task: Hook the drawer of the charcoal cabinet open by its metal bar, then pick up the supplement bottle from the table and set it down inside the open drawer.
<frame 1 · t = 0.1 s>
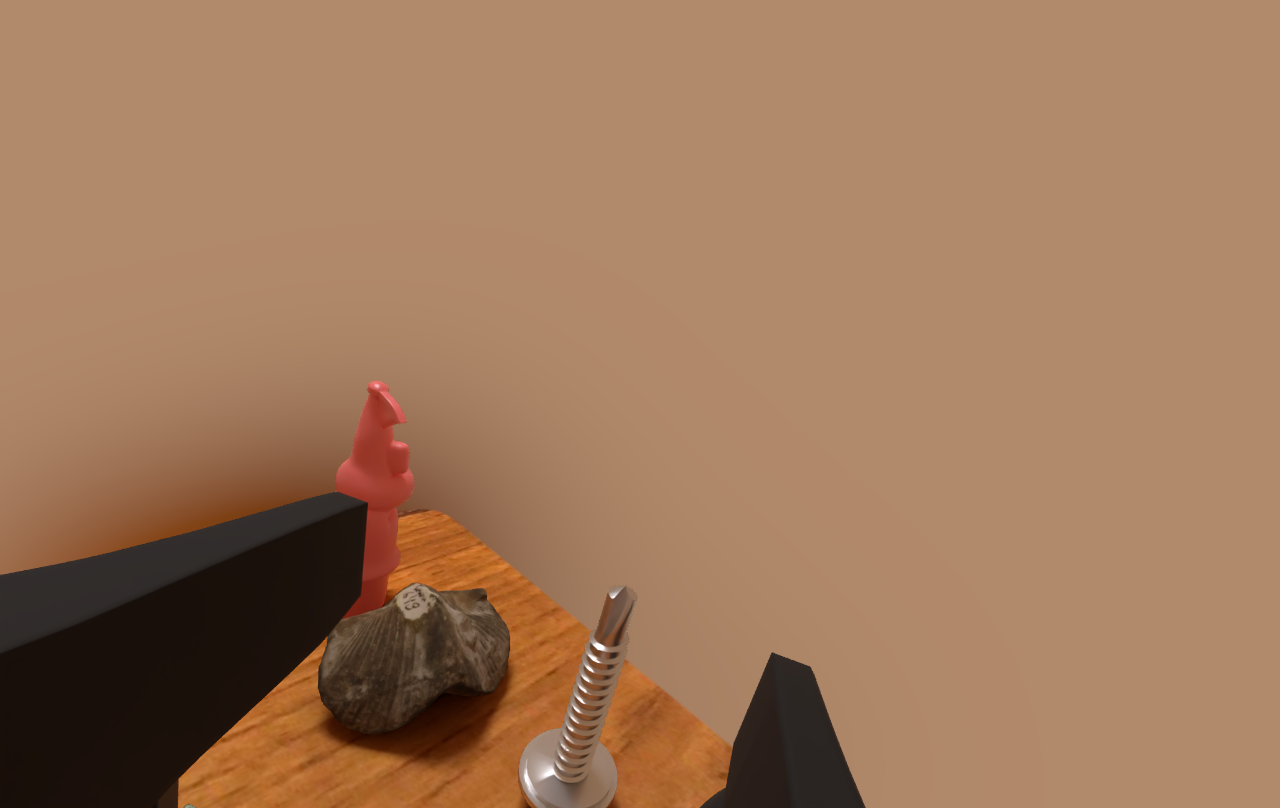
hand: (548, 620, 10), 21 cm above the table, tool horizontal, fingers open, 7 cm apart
figurine: (354, 601, 39), on the table
screw: (558, 804, 30), on the table
fossilized seashell: (414, 686, 34), on the table
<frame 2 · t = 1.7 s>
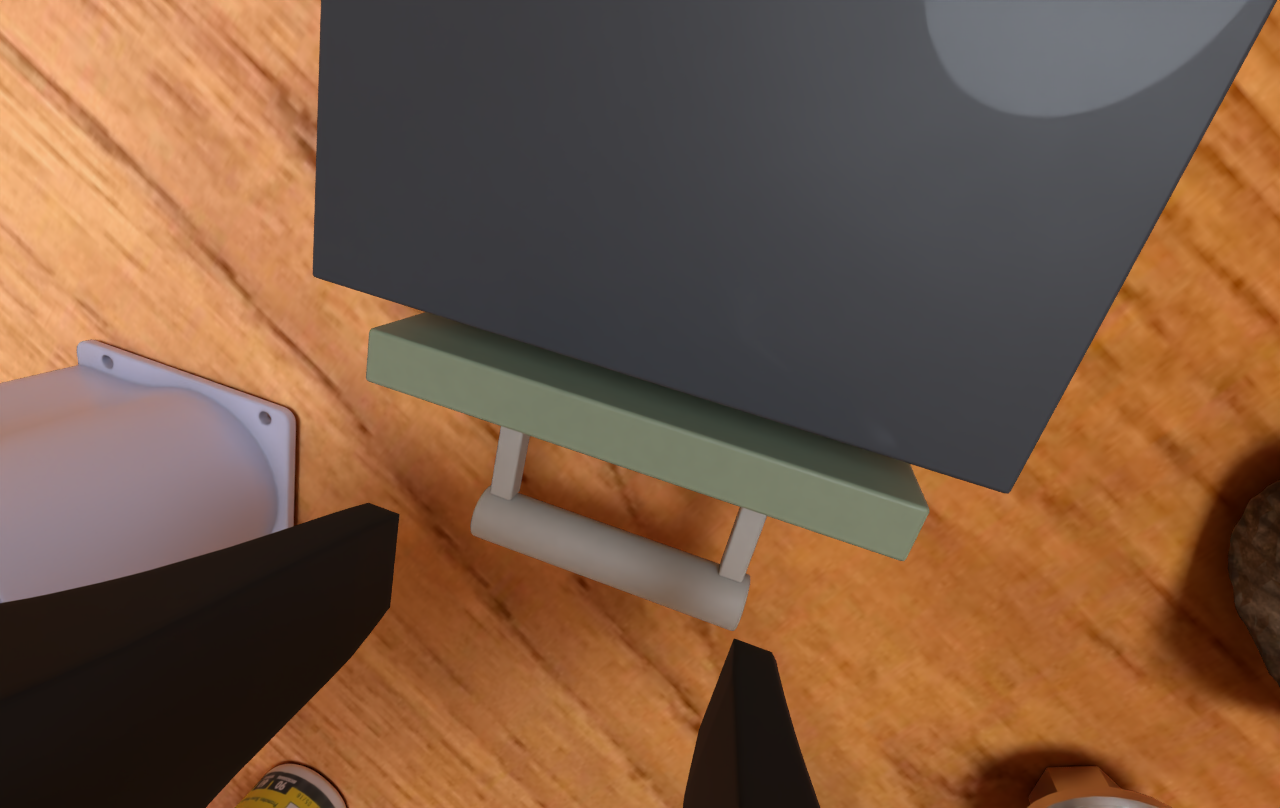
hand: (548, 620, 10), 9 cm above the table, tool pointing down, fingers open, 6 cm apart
drawer: (700, 226, 13), point 4 cm above the table, slide at 1.0 cm
cabinet: (777, 16, 14), on the table
screw: (1073, 788, 19), on the table
supplement bottle: (311, 793, 30), on the table
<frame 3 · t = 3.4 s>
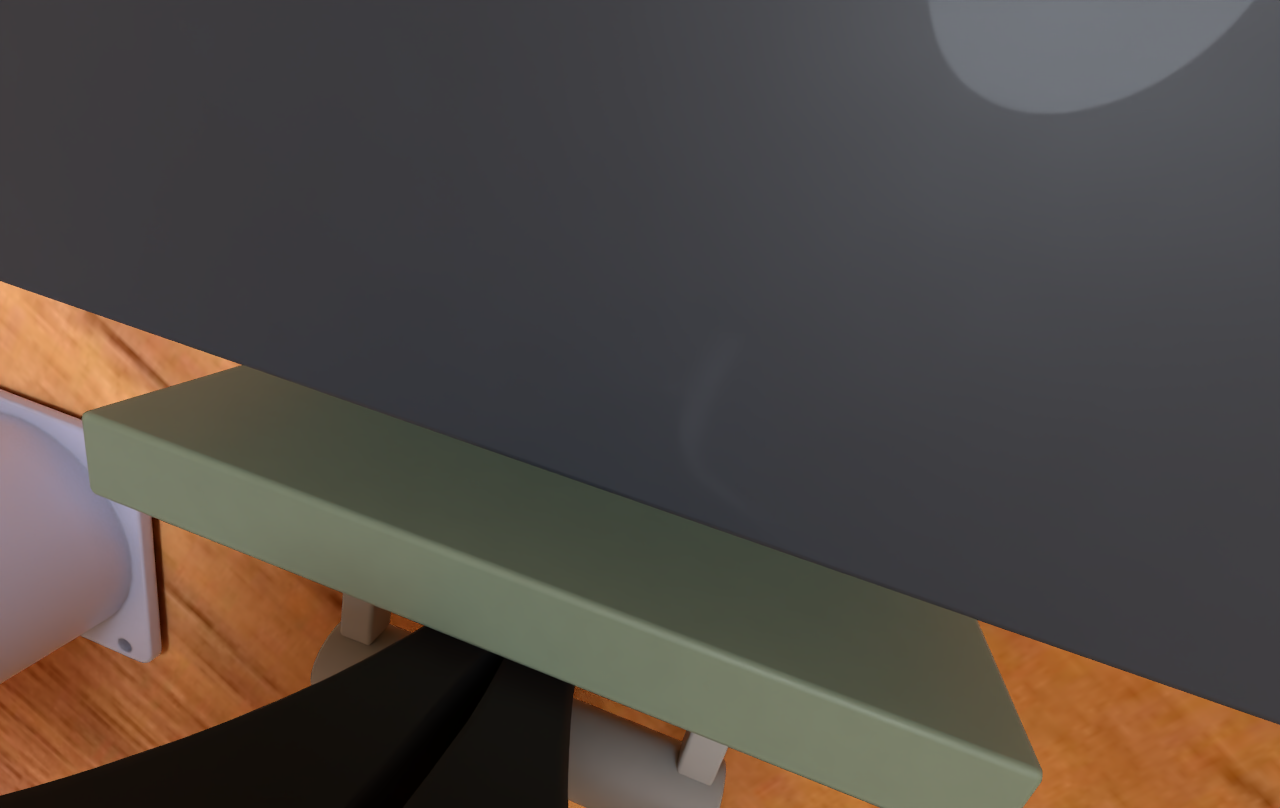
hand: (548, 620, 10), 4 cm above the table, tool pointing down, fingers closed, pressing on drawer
drawer: (640, 240, 8), point 4 cm above the table, slide at 1.9 cm, touching gripper
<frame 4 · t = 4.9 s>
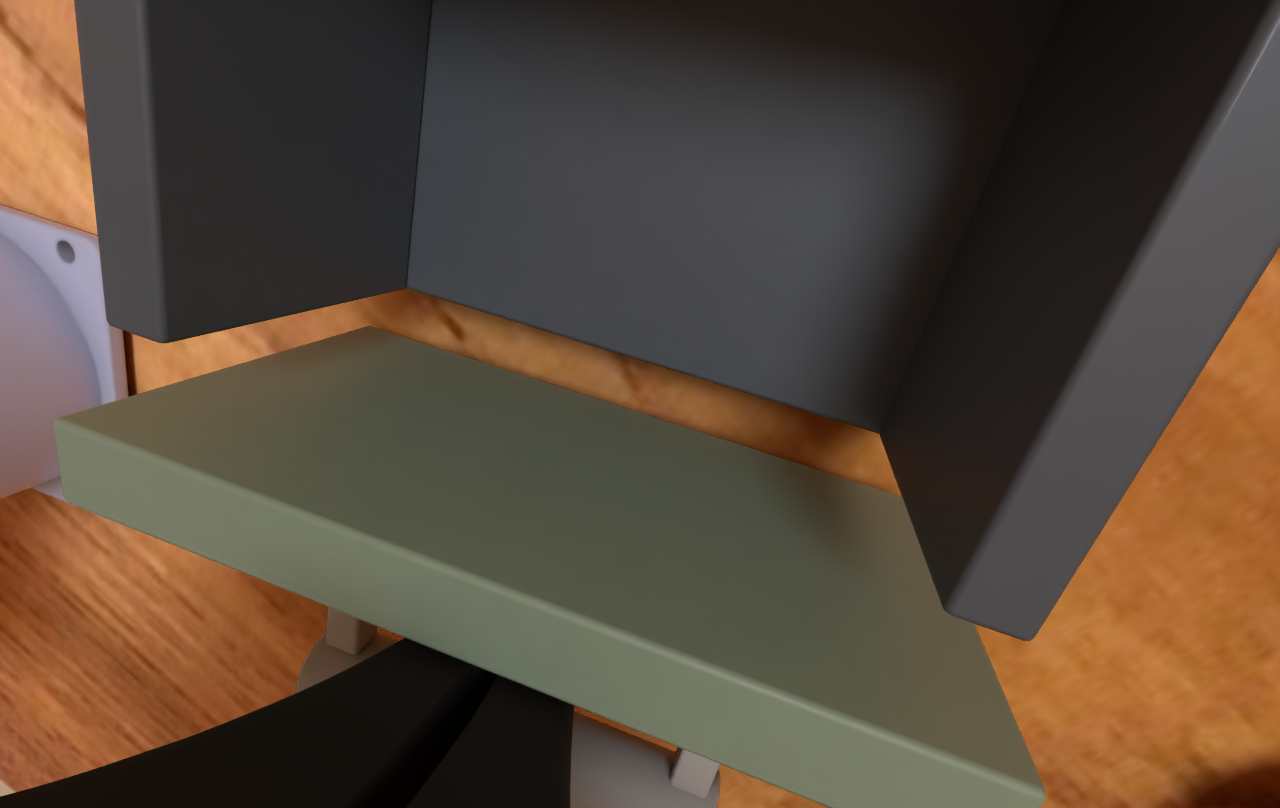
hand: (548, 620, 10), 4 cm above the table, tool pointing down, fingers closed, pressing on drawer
drawer: (629, 240, 8), point 4 cm above the table, slide at 7.5 cm, touching gripper
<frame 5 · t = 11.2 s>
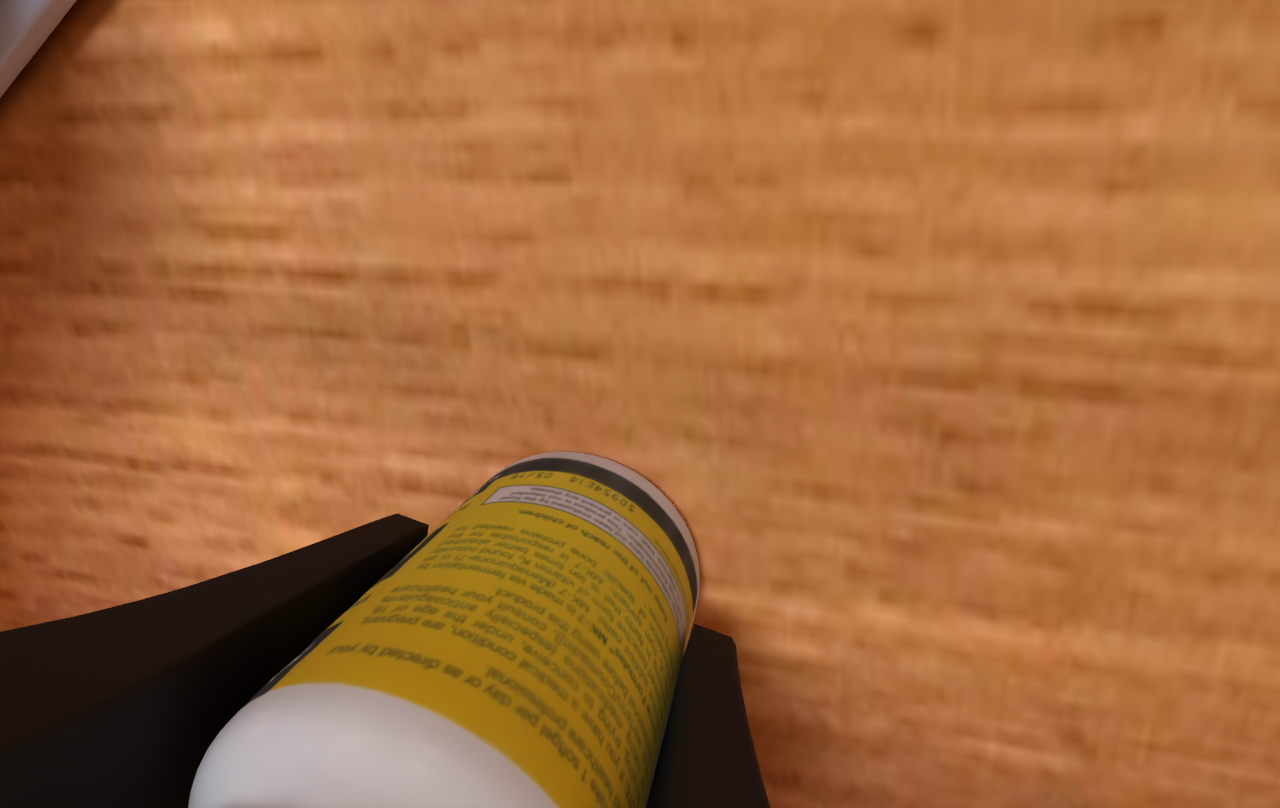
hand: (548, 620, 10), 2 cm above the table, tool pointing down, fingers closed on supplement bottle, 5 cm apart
supplement bottle: (586, 551, 12), on the table, touching gripper
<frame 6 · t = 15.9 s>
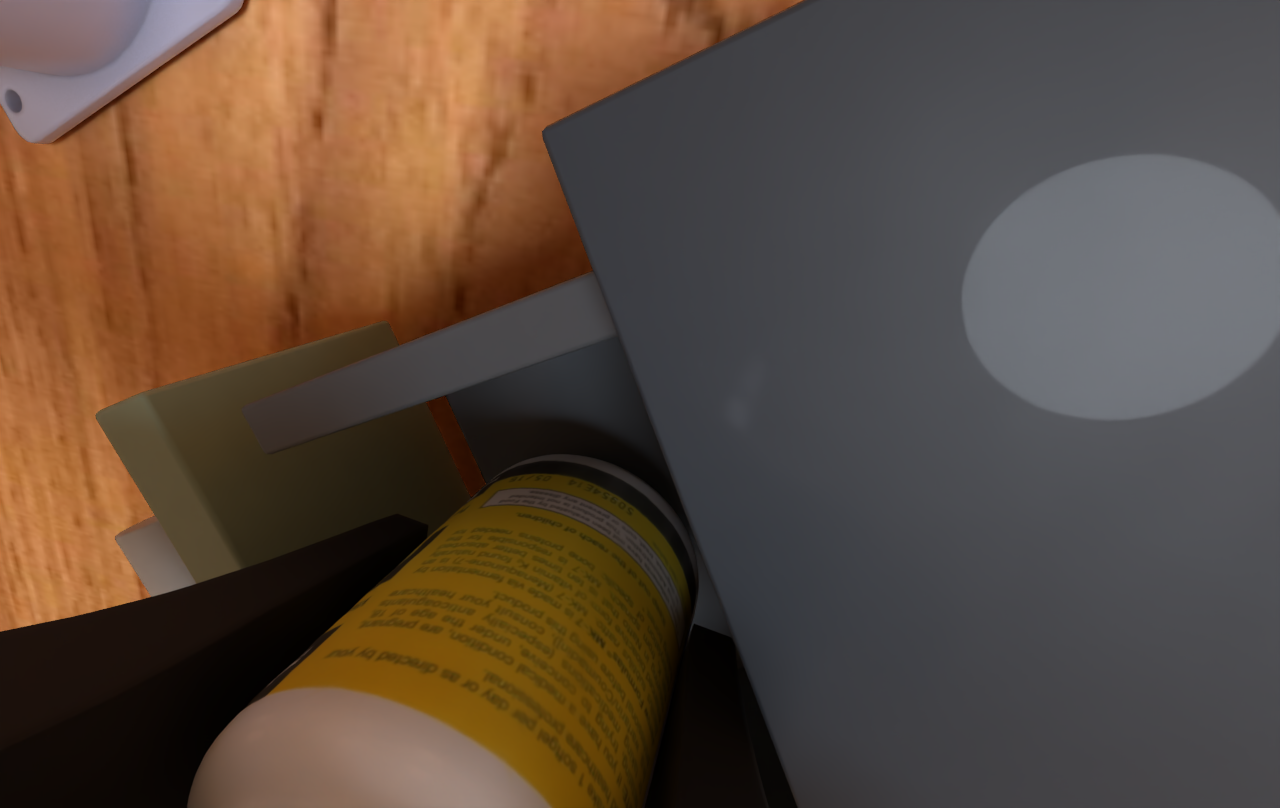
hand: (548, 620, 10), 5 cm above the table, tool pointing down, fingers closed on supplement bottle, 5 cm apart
drawer: (561, 570, 12), point 4 cm above the table, slide at 7.5 cm
cabinet: (1155, 349, 11), on the table
supplement bottle: (585, 554, 12), point 3 cm above the table, touching gripper
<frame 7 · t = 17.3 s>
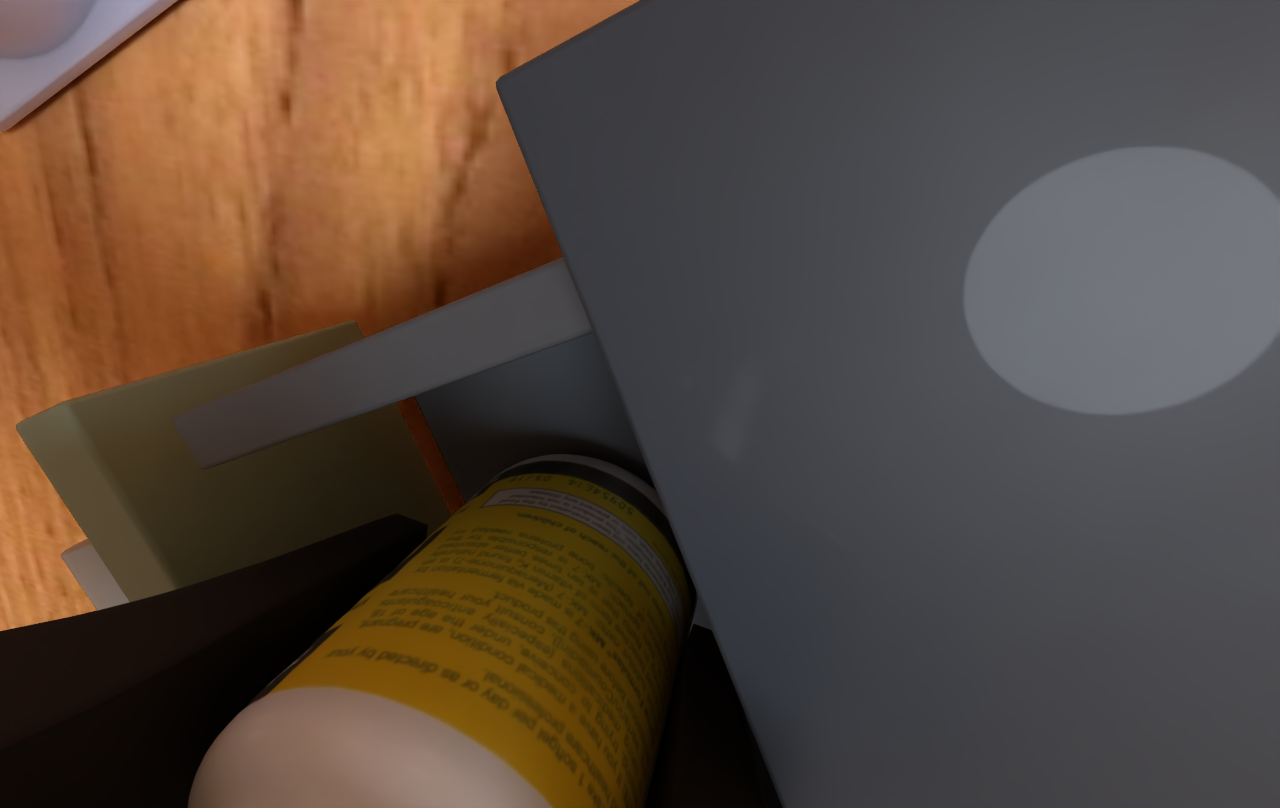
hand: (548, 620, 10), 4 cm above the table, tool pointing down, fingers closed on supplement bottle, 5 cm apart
drawer: (537, 588, 11), point 4 cm above the table, slide at 7.7 cm, touching gripper
cabinet: (1192, 342, 10), on the table
supplement bottle: (585, 554, 12), point 2 cm above the table, touching gripper
when the fingers open (5 cm above the table, at t = 20.9 s): supplement bottle stays where it is, resting on drawer.
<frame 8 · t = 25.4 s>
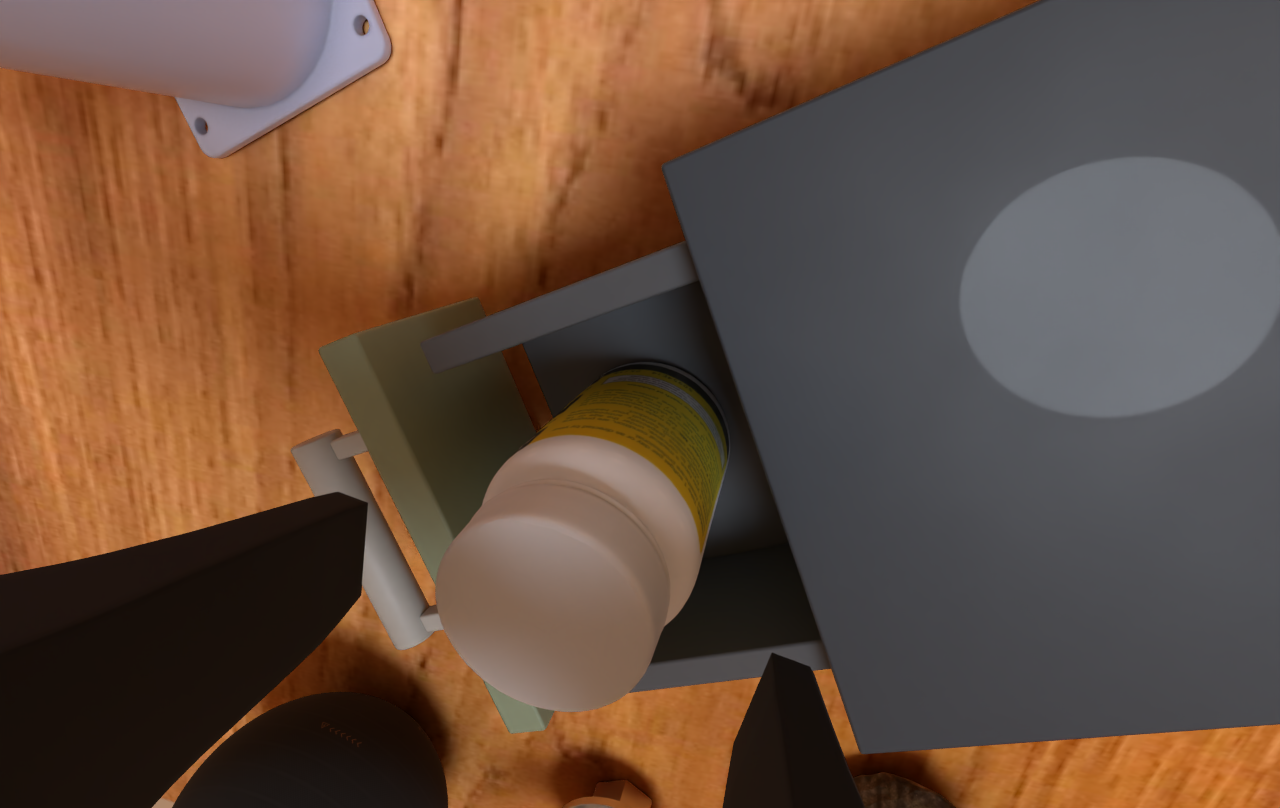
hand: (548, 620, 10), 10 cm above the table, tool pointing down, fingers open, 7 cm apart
drawer: (613, 469, 16), point 4 cm above the table, slide at 8.0 cm, touching supplement bottle
speaker: (395, 726, 28), on the table
cabinet: (1050, 307, 16), on the table
screw: (624, 797, 26), on the table
supplement bottle: (653, 434, 18), point 2 cm above the table, touching drawer
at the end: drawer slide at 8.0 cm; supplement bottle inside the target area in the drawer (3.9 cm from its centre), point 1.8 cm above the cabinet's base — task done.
